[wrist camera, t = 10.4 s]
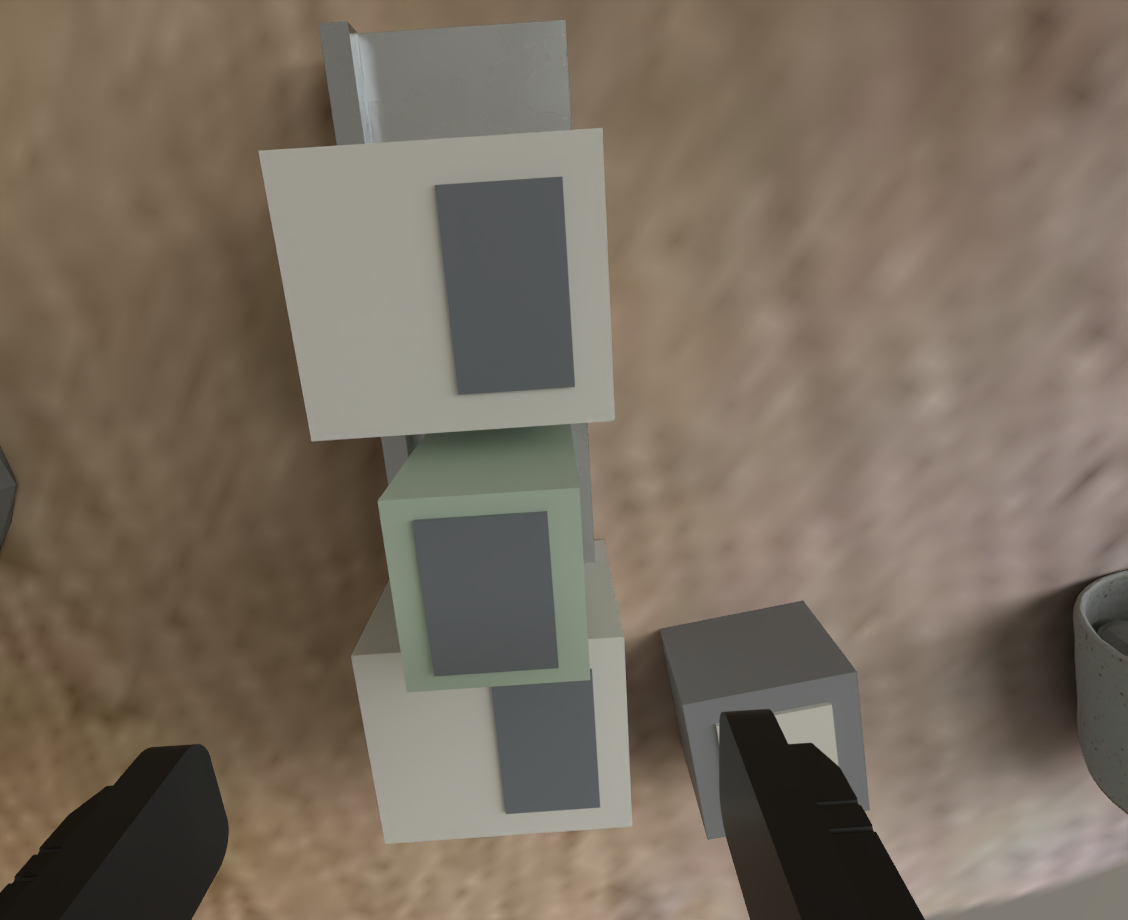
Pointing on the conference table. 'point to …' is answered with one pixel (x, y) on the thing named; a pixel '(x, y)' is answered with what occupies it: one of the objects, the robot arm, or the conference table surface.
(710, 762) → the block
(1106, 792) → the ceramic mug
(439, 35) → the rail
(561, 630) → the module
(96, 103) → the conference table surface
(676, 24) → the conference table surface
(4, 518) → the coffeepot
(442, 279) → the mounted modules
